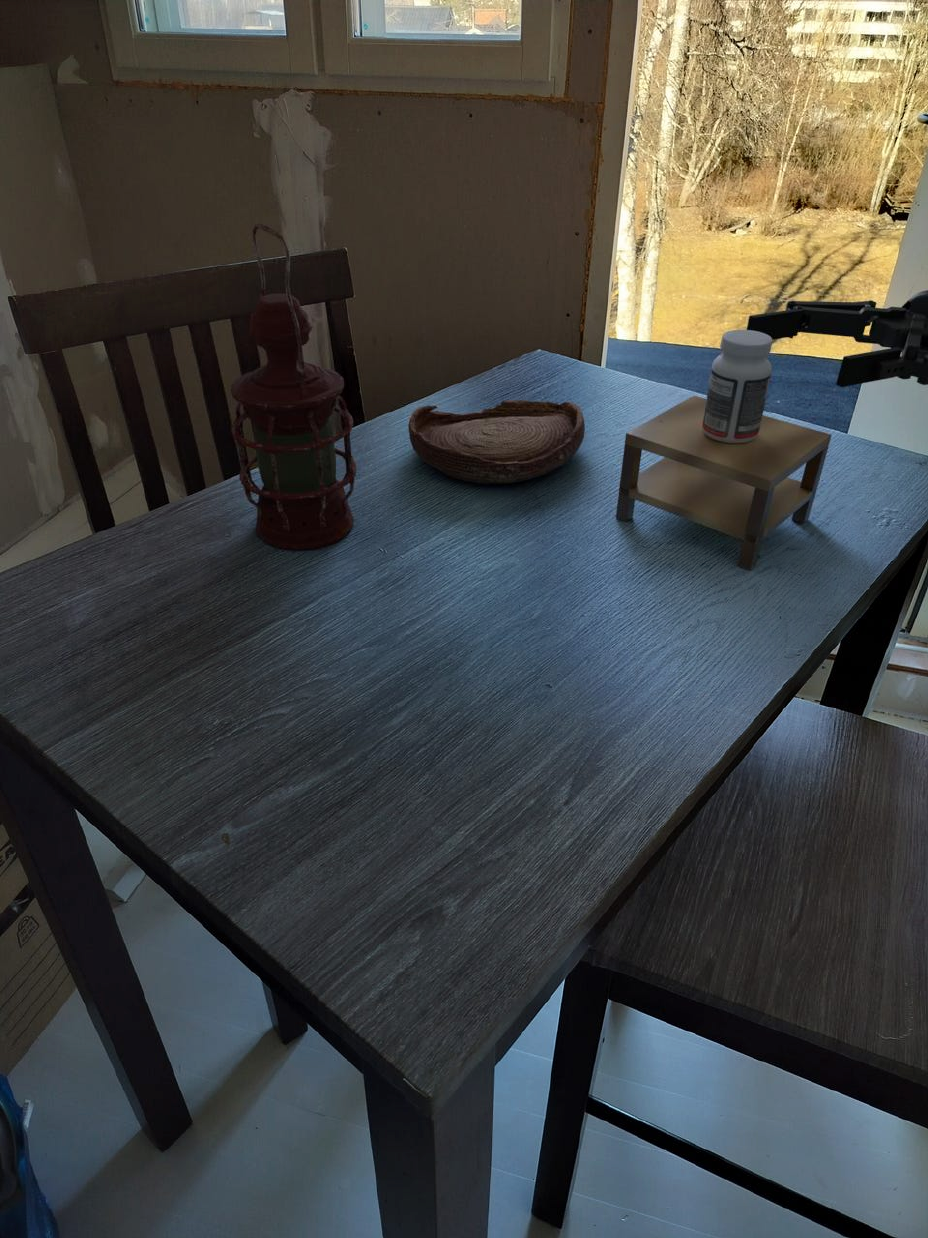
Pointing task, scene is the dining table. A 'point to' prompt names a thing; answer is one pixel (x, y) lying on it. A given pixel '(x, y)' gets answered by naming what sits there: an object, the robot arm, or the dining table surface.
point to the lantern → (292, 429)
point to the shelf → (723, 474)
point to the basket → (498, 440)
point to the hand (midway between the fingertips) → (792, 349)
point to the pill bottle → (738, 387)
